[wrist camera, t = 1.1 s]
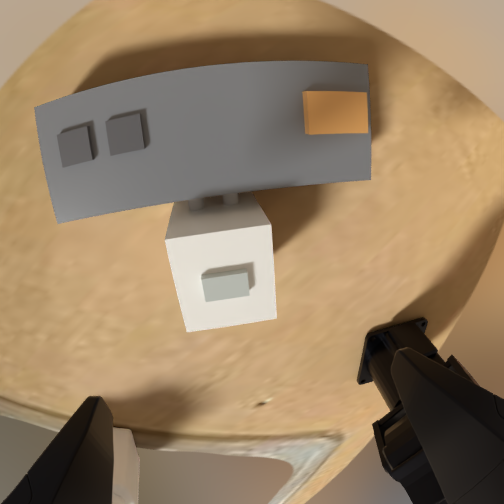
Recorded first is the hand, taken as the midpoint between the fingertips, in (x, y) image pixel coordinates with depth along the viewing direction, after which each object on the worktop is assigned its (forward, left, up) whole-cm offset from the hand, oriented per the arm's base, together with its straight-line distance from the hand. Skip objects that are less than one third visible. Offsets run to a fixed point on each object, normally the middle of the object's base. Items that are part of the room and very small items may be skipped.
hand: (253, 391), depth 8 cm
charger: (+1, 0, -12) cm, 12 cm away
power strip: (+6, 0, -12) cm, 13 cm away
